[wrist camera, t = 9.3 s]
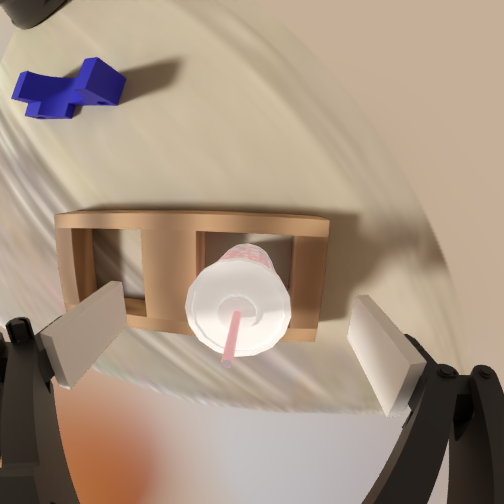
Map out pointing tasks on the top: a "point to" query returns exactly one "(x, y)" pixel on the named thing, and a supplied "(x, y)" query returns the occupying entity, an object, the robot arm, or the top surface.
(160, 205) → the top surface
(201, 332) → the beverage cup
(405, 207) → the top surface
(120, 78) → the blue notched block
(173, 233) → the wooden holder tray
